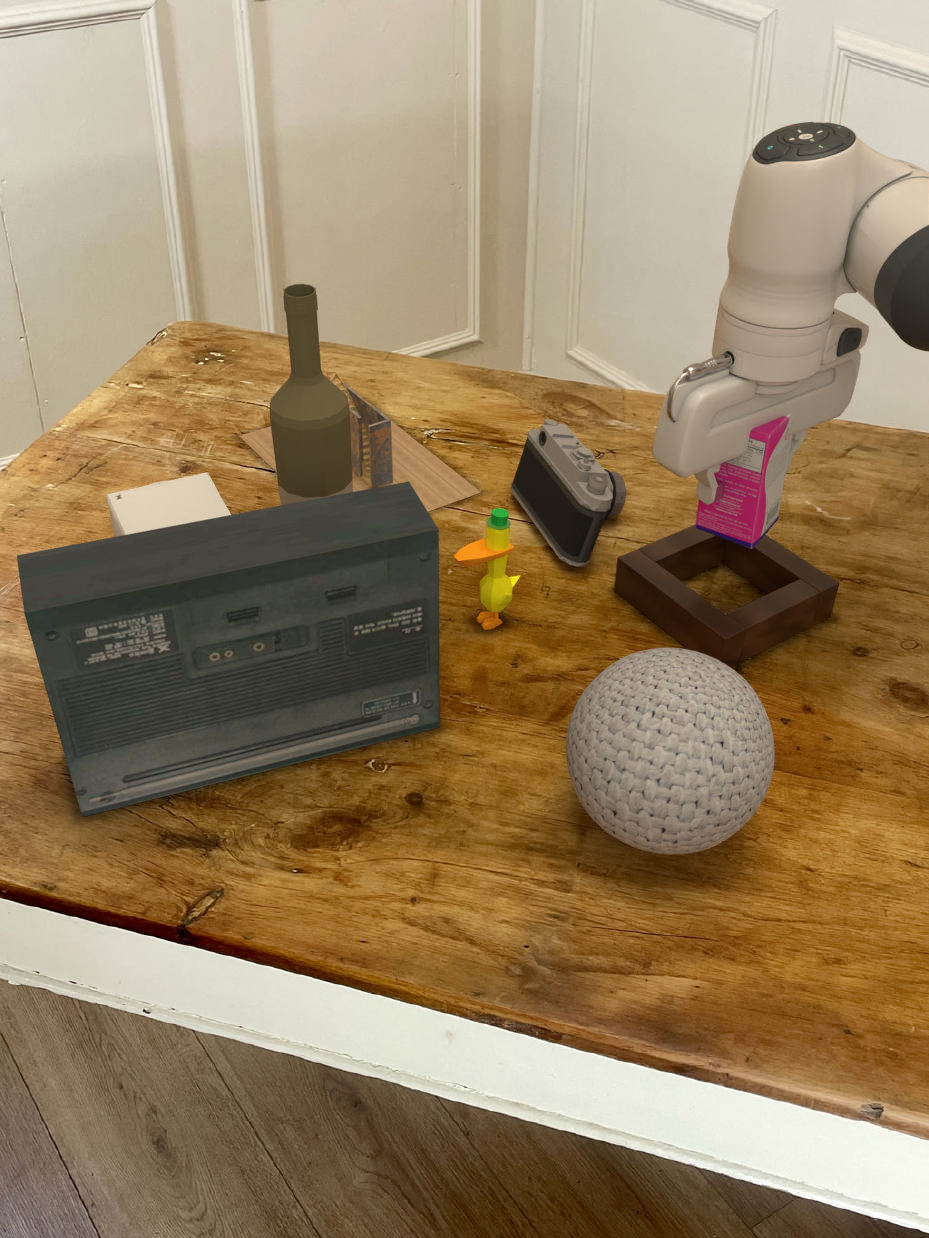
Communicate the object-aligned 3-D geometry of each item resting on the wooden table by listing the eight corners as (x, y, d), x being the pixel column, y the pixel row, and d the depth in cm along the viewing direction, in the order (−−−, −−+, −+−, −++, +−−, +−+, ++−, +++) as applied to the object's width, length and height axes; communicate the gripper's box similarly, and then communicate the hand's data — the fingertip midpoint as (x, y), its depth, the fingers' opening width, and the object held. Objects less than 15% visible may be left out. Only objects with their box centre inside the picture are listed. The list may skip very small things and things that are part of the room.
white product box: (155, 690, 103) (126, 548, 94) (131, 630, 109) (101, 491, 100) (256, 661, 106) (238, 521, 97) (227, 604, 112) (207, 468, 103)
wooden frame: (723, 543, 121) (728, 510, 118) (831, 617, 112) (840, 582, 109) (613, 591, 114) (617, 557, 112) (718, 673, 105) (725, 638, 103)
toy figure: (464, 644, 108) (466, 535, 101) (446, 622, 110) (446, 514, 103) (528, 622, 111) (534, 514, 103) (509, 601, 113) (513, 494, 106)
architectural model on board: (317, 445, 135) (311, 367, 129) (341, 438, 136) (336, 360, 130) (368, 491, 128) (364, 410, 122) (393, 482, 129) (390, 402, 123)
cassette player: (413, 675, 105) (408, 481, 92) (439, 727, 100) (438, 529, 87) (72, 755, 97) (16, 555, 84) (82, 816, 92) (24, 613, 79)
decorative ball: (535, 863, 88) (545, 716, 79) (589, 731, 99) (604, 588, 90) (737, 922, 84) (773, 774, 75) (770, 778, 95) (806, 633, 86)
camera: (637, 572, 119) (673, 486, 114) (563, 570, 116) (596, 480, 110) (573, 492, 131) (603, 410, 125) (503, 487, 127) (531, 402, 122)
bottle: (370, 600, 113) (355, 300, 94) (299, 617, 111) (268, 314, 92) (347, 559, 118) (328, 267, 99) (278, 575, 116) (245, 280, 97)
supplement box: (719, 499, 110) (738, 388, 103) (779, 520, 108) (802, 408, 101) (690, 528, 107) (708, 415, 100) (752, 551, 104) (774, 436, 97)
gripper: (701, 388, 89) (679, 540, 98) (884, 323, 98) (849, 467, 107) (645, 356, 93) (629, 504, 102) (826, 296, 102) (797, 437, 111)
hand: (743, 485), depth 105 cm, fingers closed on supplement box, 7 cm apart
